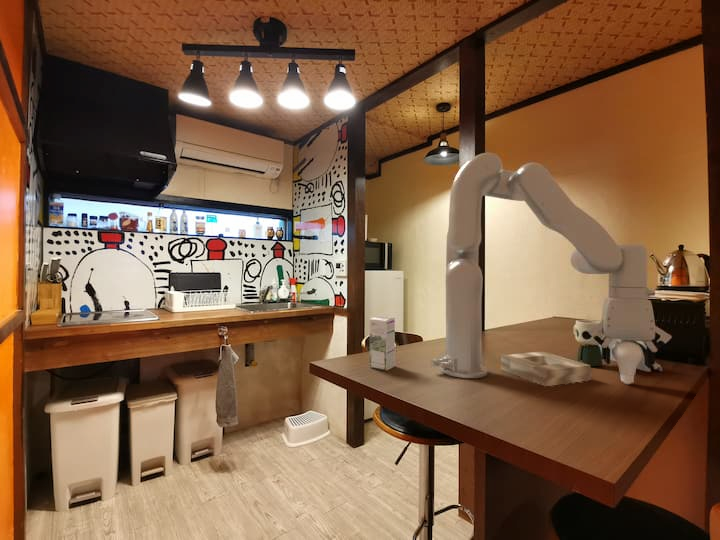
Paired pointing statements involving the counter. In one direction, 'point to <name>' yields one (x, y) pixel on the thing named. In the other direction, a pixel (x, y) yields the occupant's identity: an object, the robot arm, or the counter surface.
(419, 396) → the counter surface
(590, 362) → the character mug
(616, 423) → the counter surface
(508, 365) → the holder
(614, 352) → the lightbulb
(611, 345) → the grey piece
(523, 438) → the counter surface
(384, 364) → the syrup box
